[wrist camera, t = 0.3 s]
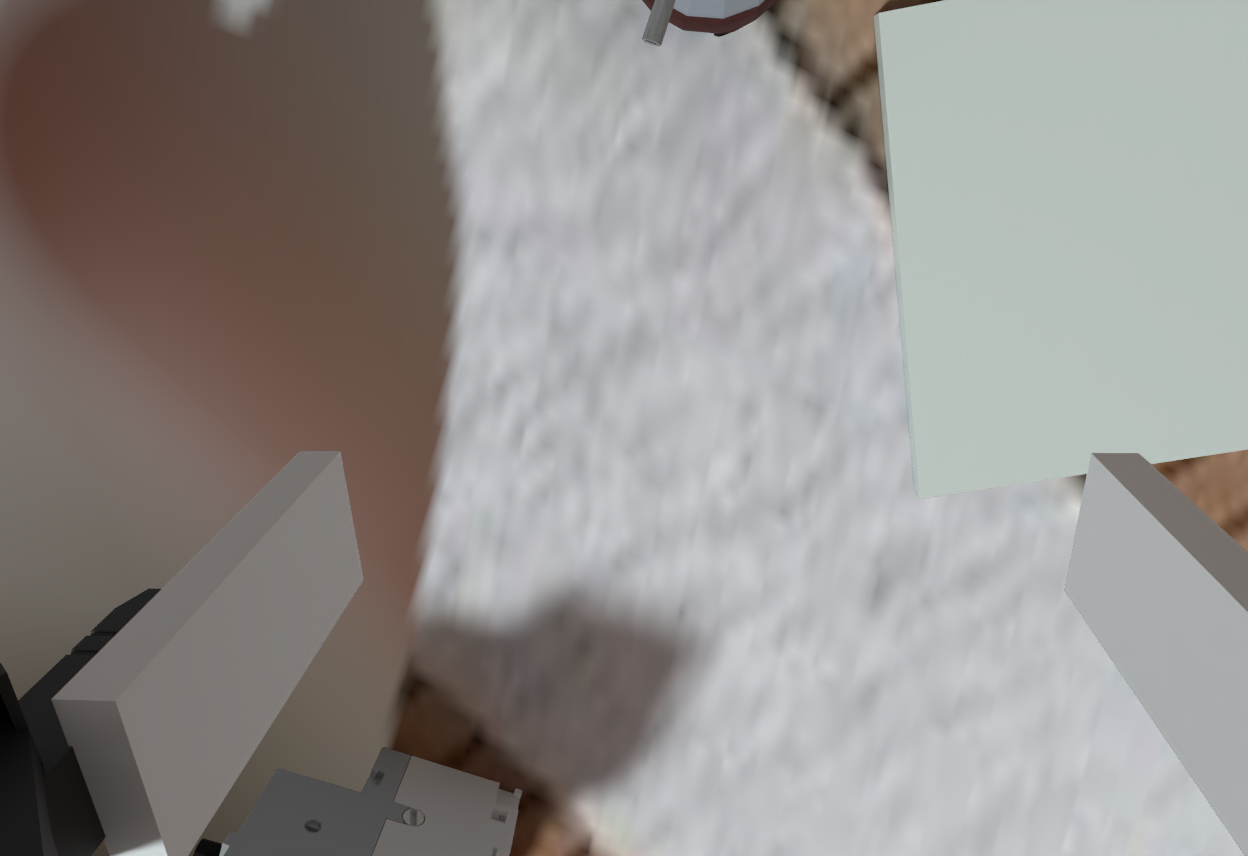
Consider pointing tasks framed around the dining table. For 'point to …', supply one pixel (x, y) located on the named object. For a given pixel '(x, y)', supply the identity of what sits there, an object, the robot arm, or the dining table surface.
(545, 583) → the dining table surface
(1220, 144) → the sage tile
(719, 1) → the mate gourd
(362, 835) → the circuit breaker
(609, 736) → the dining table surface
